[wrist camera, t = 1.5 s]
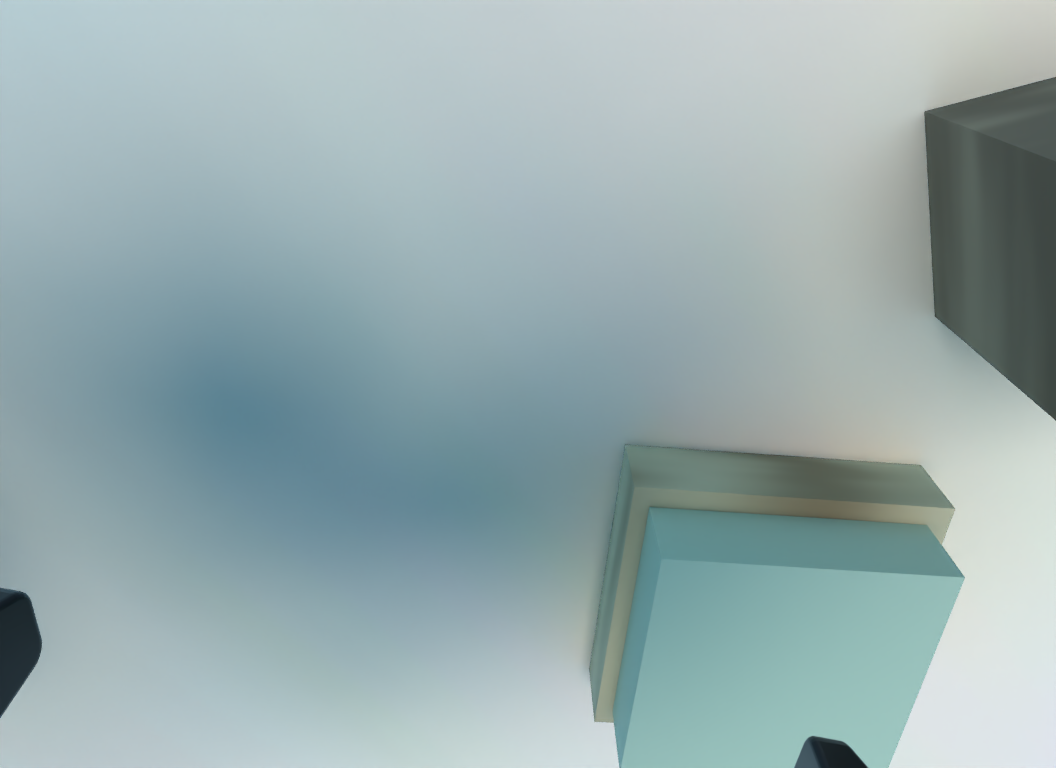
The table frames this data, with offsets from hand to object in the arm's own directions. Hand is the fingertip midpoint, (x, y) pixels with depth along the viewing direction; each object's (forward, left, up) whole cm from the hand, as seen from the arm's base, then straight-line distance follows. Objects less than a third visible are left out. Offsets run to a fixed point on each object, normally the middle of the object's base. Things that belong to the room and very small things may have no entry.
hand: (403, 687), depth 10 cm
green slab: (-4, -11, -10) cm, 15 cm away
